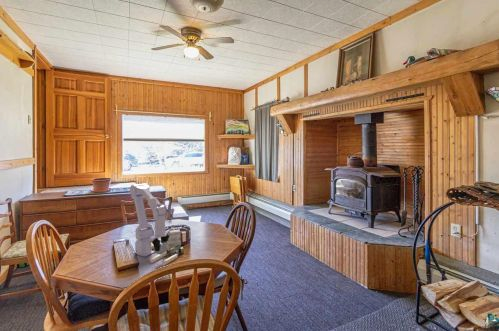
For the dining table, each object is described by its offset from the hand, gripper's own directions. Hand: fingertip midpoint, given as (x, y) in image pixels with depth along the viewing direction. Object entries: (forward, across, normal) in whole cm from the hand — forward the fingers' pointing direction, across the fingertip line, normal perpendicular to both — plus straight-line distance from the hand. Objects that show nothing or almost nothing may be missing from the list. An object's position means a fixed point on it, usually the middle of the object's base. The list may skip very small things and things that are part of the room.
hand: (160, 249), depth 152 cm
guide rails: (+8, +3, 0) cm, 8 cm away
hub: (+2, 0, 0) cm, 2 cm away
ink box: (+8, +19, +6) cm, 22 cm away
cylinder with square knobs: (+8, +13, 0) cm, 15 cm away
